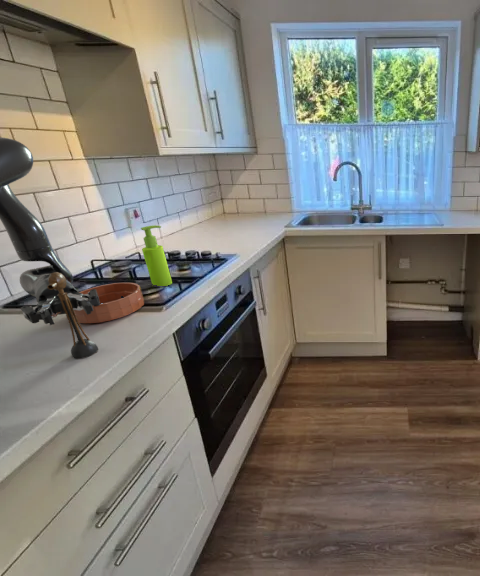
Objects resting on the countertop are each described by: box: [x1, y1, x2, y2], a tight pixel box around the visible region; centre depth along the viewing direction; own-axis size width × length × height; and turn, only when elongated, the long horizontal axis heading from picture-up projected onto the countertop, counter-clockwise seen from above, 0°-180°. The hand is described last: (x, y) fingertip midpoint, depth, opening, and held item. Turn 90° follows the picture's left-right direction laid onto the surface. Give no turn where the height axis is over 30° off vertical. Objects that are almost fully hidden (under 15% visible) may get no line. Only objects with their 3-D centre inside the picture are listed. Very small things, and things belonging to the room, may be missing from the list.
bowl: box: [73, 282, 145, 324], centre depth 104 cm, size 17×17×6 cm
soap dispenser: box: [140, 224, 173, 287], centre depth 120 cm, size 6×7×20 cm
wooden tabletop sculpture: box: [47, 272, 99, 360], centre depth 80 cm, size 6×5×20 cm
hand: (69, 315), depth 78 cm, fingers open, 5 cm apart
